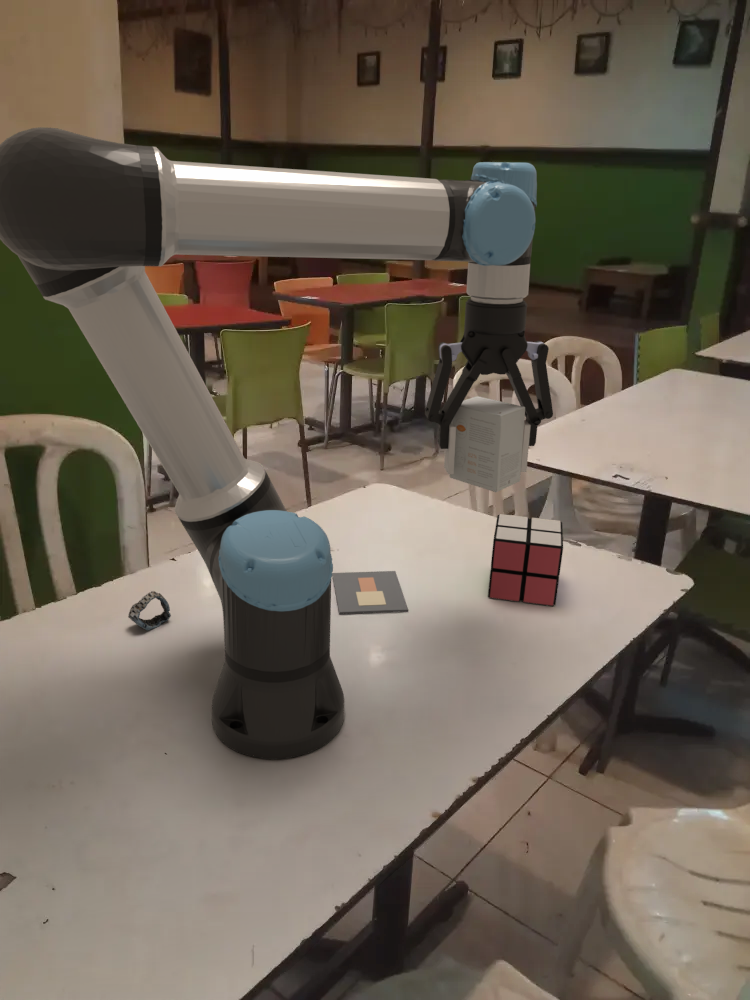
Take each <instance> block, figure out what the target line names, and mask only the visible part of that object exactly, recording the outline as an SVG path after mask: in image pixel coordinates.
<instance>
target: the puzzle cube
mask: <svg viewBox="0 0 750 1000" xmlns="http://www.w3.org/2000/svg"><path fill="white" fill-rule="evenodd" d="M563 532H564V531H563V522H562V520H557V519H547V518H538V517H531V518H529V516H521V515H511V514H501V513H499V514H498V515H497V516H496V522H495V528H494V535H493V541H492V551H491V562H490V570H489V571H490V572H489V583H488V591H487V597H488V598H489V599H493V600H499V601H500V600H501V601H510V602H514V603H515V602H516V603H520V602H522V603H524V604H532V605H539V606H540V605H541V606H546V605H548V606H549V607H554V606H556V603H557V597H558V588H559V581H560V574H561V573H560V572H561V567H562V561H563V552H564V536H563V534H564V533H563Z"/></svg>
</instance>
